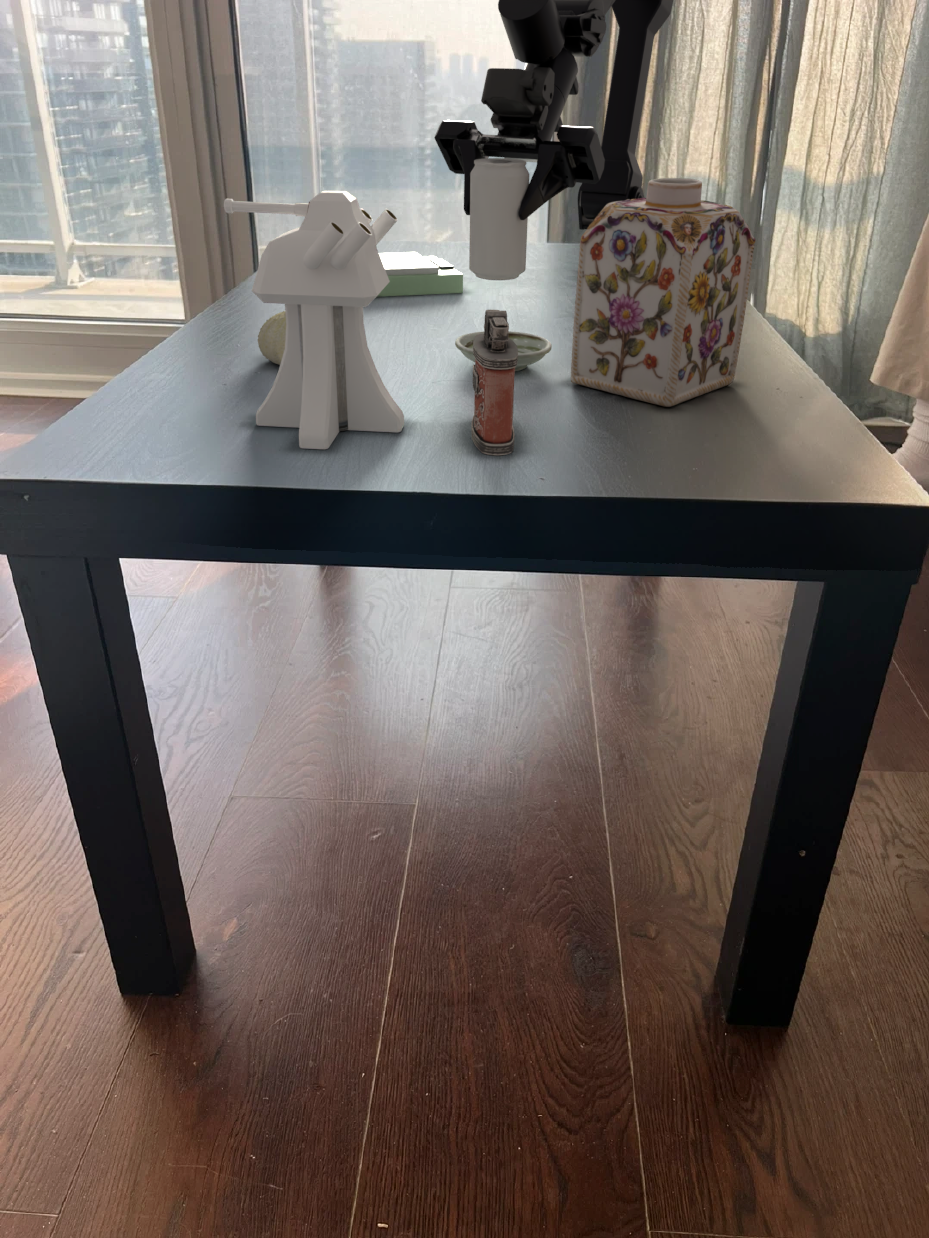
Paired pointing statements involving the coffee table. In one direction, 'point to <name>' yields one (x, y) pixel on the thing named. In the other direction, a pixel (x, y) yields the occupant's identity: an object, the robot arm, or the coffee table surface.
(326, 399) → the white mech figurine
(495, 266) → the beverage can
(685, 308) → the decorative jar
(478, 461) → the coffee table surface
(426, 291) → the scale
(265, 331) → the sea urchin shell
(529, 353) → the saucer
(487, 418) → the lighter
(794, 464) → the coffee table surface
